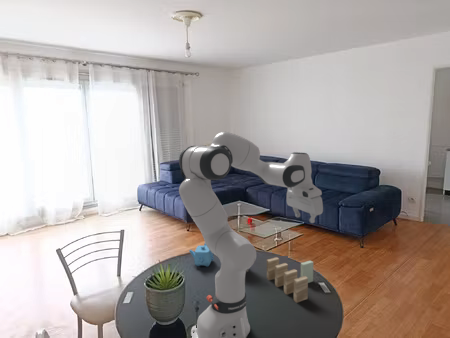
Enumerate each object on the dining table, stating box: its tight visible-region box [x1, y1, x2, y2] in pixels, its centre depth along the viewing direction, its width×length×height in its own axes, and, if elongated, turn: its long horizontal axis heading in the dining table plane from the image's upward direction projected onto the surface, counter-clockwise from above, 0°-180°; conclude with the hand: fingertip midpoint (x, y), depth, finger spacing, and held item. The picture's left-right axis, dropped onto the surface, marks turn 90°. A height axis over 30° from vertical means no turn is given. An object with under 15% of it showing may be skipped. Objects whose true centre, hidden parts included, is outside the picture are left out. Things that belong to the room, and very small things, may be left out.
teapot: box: [188, 243, 215, 268], centre depth 170 cm, size 18×14×10 cm
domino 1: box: [266, 256, 280, 281], centre depth 152 cm, size 2×6×10 cm, turn 116°
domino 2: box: [274, 262, 289, 288], centre depth 146 cm, size 2×6×10 cm, turn 116°
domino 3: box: [283, 268, 298, 295], centre depth 140 cm, size 2×6×10 cm, turn 116°
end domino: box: [300, 259, 314, 284], centre depth 147 cm, size 2×6×10 cm, turn 116°
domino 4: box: [293, 276, 309, 304], centre depth 133 cm, size 2×6×10 cm, turn 116°
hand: (304, 219), depth 134 cm, fingers open, 8 cm apart
